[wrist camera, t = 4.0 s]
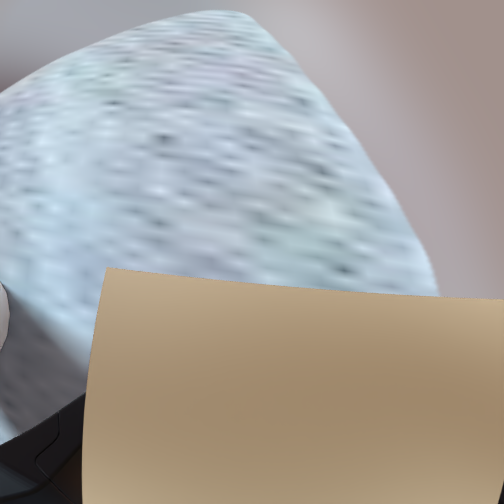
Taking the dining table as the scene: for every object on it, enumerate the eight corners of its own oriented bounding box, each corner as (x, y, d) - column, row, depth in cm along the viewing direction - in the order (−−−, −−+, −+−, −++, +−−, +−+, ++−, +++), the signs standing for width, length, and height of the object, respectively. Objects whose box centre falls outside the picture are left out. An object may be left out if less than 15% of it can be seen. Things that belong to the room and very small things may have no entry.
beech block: (318, 456, 12) (449, 610, 1) (210, 448, 13) (97, 610, 1) (328, 356, 14) (517, 299, 3) (221, 347, 14) (106, 266, 3)
